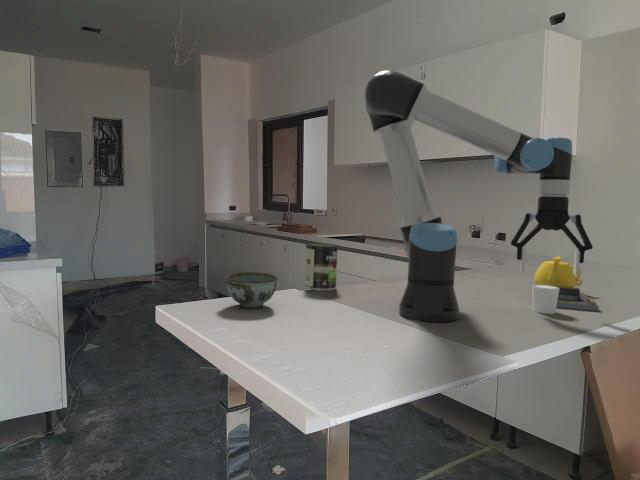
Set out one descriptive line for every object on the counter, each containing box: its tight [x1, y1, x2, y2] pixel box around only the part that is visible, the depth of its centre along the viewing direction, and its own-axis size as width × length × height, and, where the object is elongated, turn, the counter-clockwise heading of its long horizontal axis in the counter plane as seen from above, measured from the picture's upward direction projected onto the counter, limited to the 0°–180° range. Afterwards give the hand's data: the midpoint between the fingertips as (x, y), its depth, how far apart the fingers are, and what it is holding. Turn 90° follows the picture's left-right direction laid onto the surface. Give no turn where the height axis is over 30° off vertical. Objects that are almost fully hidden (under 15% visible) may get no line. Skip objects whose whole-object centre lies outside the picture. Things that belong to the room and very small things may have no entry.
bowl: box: [225, 271, 279, 310], centre depth 127 cm, size 14×13×8 cm
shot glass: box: [531, 284, 560, 315], centre depth 134 cm, size 7×7×7 cm
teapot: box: [533, 255, 583, 288], centre depth 165 cm, size 20×15×12 cm
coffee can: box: [304, 242, 339, 292], centre depth 156 cm, size 10×10×14 cm
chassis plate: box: [555, 286, 600, 312], centre depth 147 cm, size 18×14×4 cm
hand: (548, 273), depth 133 cm, fingers open, 13 cm apart
